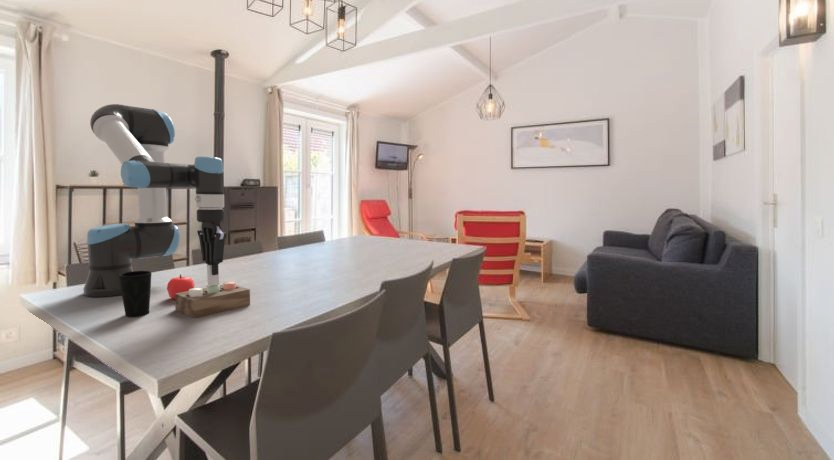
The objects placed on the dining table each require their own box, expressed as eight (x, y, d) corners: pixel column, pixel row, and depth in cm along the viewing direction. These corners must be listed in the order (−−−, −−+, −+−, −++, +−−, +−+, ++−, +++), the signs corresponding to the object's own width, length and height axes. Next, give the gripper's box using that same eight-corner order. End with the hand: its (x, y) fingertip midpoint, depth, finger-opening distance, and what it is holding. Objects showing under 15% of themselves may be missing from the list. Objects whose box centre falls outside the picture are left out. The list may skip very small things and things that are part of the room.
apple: (161, 300, 127) (160, 276, 126) (179, 294, 134) (178, 271, 134) (184, 301, 126) (183, 277, 125) (200, 295, 134) (199, 272, 133)
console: (175, 309, 117) (174, 293, 117) (230, 297, 131) (229, 283, 131) (194, 318, 110) (193, 300, 110) (250, 304, 124) (249, 289, 124)
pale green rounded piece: (204, 298, 120) (204, 285, 120) (216, 295, 123) (216, 283, 123) (210, 300, 118) (210, 287, 118) (222, 297, 121) (221, 285, 120)
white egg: (186, 302, 116) (186, 289, 115) (199, 300, 119) (198, 287, 118) (192, 305, 114) (192, 291, 113) (205, 302, 117) (204, 289, 116)
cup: (136, 319, 108) (134, 277, 107) (113, 317, 110) (111, 275, 109) (159, 311, 116) (158, 271, 115) (138, 309, 117) (136, 270, 116)
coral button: (221, 295, 124) (221, 283, 124) (232, 293, 127) (231, 281, 127) (227, 297, 122) (227, 285, 122) (238, 295, 125) (238, 282, 125)
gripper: (187, 208, 118) (190, 283, 121) (208, 209, 111) (211, 290, 113) (212, 207, 124) (214, 279, 127) (234, 209, 117) (236, 285, 119)
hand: (213, 284), depth 120 cm, fingers closed
